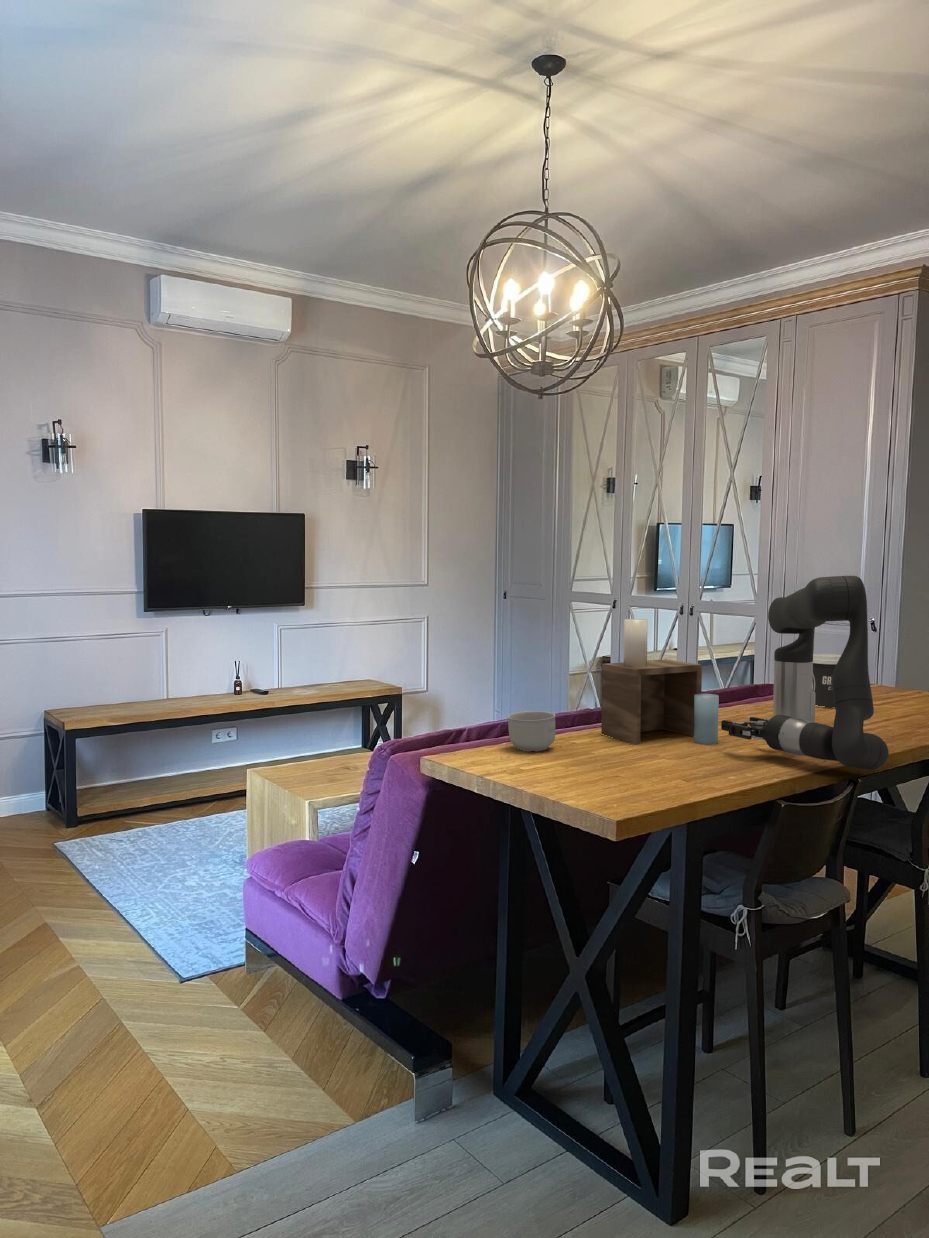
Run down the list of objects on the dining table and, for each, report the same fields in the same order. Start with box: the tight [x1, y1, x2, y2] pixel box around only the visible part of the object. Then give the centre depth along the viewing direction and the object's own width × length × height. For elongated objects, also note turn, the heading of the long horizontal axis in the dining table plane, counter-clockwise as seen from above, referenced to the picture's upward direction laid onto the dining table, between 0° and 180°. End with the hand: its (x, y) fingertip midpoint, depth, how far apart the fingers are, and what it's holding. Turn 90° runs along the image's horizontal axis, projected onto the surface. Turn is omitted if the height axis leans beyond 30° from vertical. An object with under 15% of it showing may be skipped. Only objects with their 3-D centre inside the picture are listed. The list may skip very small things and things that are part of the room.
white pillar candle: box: [623, 618, 649, 667], centre depth 217 cm, size 6×6×11 cm
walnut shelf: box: [601, 659, 703, 745], centre depth 220 cm, size 20×13×18 cm, turn 118°
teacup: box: [506, 710, 556, 752], centre depth 207 cm, size 14×11×8 cm
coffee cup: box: [812, 653, 842, 707], centre depth 263 cm, size 10×10×15 cm
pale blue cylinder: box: [693, 693, 720, 745], centre depth 213 cm, size 6×6×11 cm
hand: (736, 723), depth 204 cm, fingers open, 8 cm apart
